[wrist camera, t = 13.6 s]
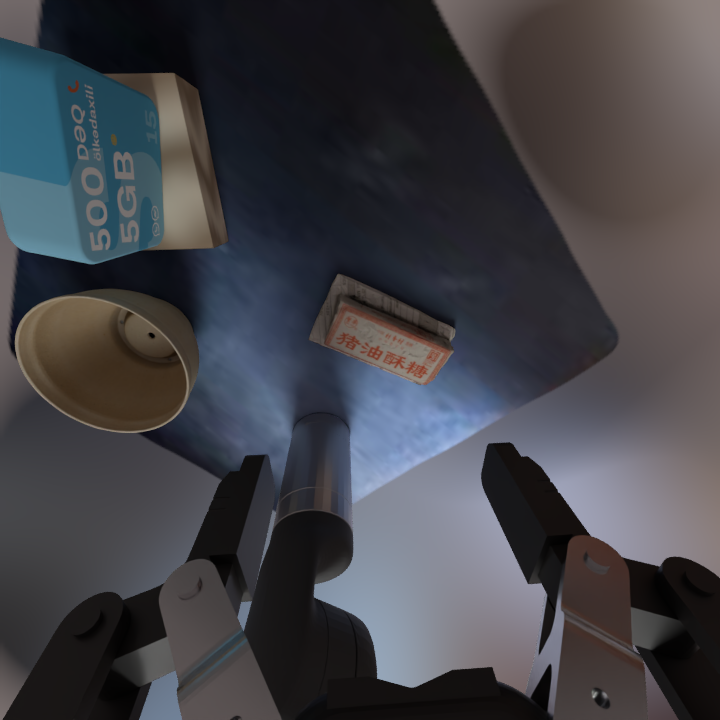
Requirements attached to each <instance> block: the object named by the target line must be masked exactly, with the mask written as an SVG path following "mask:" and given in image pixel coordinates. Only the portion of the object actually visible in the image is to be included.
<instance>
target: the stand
mask: <svg viewBox="0 0 720 720" xmlns="http://www.w3.org/2000/svg"><path fill="white" fill-rule="evenodd" d="M103 75H106V76H108V77H110V78H112V79H114V80H116V81H118V82H120V83H122V84H124V85H126V86H128V87H130V88H132V89H134V90H137V91H139V92H141V93H143V94H145V95H147V96H148V97H149V98H150V99H151V100H152V101H153V103H154V105H155V107H156V110H157V113H158V118H159V130H160V151H161V172H162V193H163V214H164V235H163V238H162V241H161V242H160V244H159V245H157V246H154V247H151V248H147V249H144V250H170V249H201V248H215V247H217V246H219V245H222V244H224V243H226V242H228V236H227V231H226V226H225V221H224V216H223V211H222V206H221V201H220V196H219V192H218V187H217V182H216V177H215V172H214V167H213V162H212V157H211V152H210V147H209V142H208V137H207V132H206V127H205V123H204V118H203V113H202V108H201V103H200V98H199V93H198V89H196V88H195V87H194V86H192V85H191V84H189V83H188V82H186V81H185V80H184V79H182V78H181V77H179V76H178V75H176V74H175V73H140V74H103Z"/></svg>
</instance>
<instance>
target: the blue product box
mask: <svg viewBox="0 0 720 720" xmlns="http://www.w3.org/2000/svg"><path fill="white" fill-rule="evenodd" d="M0 209H1V213H2V217H3V221H4V225H5V228H6V232H7V234H8V236H9V238H10V240H11V241H12V242H13V243H14V244H15V245H16V246H17V247H18V248H20V249H22V250H24V251H27V252H31V253H36V254H42V255H47V256H52V257H57V258H62V259H67V260H72V261H77V262H82V263H87V264H97V263H101V262H104V261H107V260H111V259H114V258H117V257H121V256H124V255H127V254H131V253H134V252H137V251H141V250H144V249H147V248H151V247H154V246H157V245H159V244H160V242H161V241H162V238H163V235H164V214H163V193H162V172H161V151H160V130H159V118H158V113H157V110H156V107H155V105H154V103H153V101H152V100H151V99H150V98H149V97H148V96H147V95H145V94H143V93H141V92H139V91H137V90H134V89H132V88H130V87H128V86H126V85H124V84H122V83H120V82H118V81H116V80H114V79H112V78H110V77H108V76H106V75H103V74H101V73H99V72H97V71H95V70H93V69H91V68H89V67H87V66H85V65H83V64H81V63H79V62H77V61H74V60H72V59H70V58H68V57H66V56H64V55H61V54H57V53H54V52H50V51H47V50H43V49H39V48H36V47H32V46H29V45H25V44H22V43H18V42H14V41H11V40H7V39H4V38H0Z"/></svg>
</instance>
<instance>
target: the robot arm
mask: <svg viewBox="0 0 720 720" xmlns="http://www.w3.org/2000/svg"><path fill="white" fill-rule="evenodd" d="M481 479H482V486H483V489H484V491H485V493H486V495H487V498H488V500H489V502H490V504H491V506H492V508H493V510H494V513H495V515H496V517H497V519H498V521H499V523H500V525H501V527H502V530H503V532H504V534H505V536H506V538H507V540H508V542H509V544H510V546H511V548H512V551H513V553H514V555H515V557H516V559H517V561H518V564H519V566H520V568H521V570H522V572H523V574H524V576H525V578H526V580H527V583H528V584H537V583H542V585H543V587H544V589H545V591H546V594H545V597H544V603H543V609H542V615H541V621H540V627H539V633H538V639H537V645H536V651H535V657H534V662H533V666H532V670H531V673H530V676H529V679H528V684H527V688H526V693H525V694H523V693H522V692H520V691H518V690H517V689H515V688H513V687H511V686H509V685H506V684H504V683H501V682H498V681H497V680H496V677H495V674H494V671H493V668H492V667H487V668H473V669H460V670H451V671H449V672H447V673H445V674H443V675H441V676H439V677H436V678H434V679H433V680H430V681H428V682H426V683H424V684H422V685H419V686H417V687H414V688H409V687H405V686H402V685H398V684H394V683H391V682H387V681H383V680H380V679H377V666H376V657H375V651H374V645H373V642H372V639H371V636H370V633H369V631H368V629H367V627H366V626H365V624H364V623H363V622H362V621H361V620H360V619H358V618H357V617H356V616H354V615H352V614H350V613H348V612H346V611H344V610H342V609H340V608H337V607H335V606H332V605H330V604H328V603H326V602H323V601H321V600H318V599H316V598H314V585H315V584H318V583H322V582H326V581H329V580H331V579H333V578H335V577H337V576H339V575H340V574H342V573H343V572H344V571H345V570H346V569H347V568H348V566H349V565H350V563H351V560H352V557H353V521H352V493H351V460H350V432H349V429H348V427H347V425H346V424H345V423H344V422H343V421H342V420H341V419H339V418H338V417H336V416H333V415H331V414H326V413H316V414H311V415H308V416H306V417H304V418H302V419H301V420H300V421H299V422H298V423H297V424H296V425H295V427H294V429H293V433H292V438H291V443H290V447H289V452H288V457H287V462H286V467H285V472H284V477H283V481H282V486H281V491H280V496H279V501H278V506H277V511H276V517H275V521H274V526H273V531H272V536H271V540H270V544H269V547H268V549H267V552H266V555H265V557H264V560H263V563H262V565H261V569H260V572H259V568H260V564H261V559H262V555H263V550H264V545H265V541H266V537H267V532H268V527H269V523H270V518H271V514H272V509H273V505H274V499H275V484H274V479H273V474H272V469H271V464H270V460H269V456H268V455H267V454H266V455H247V456H245V458H244V460H243V463H242V466H241V468H240V471H233V472H229V473H228V475H227V476H226V477H225V478H224V479H223V480H222V481H221V482H220V484H219V486H218V488H217V490H216V493H215V495H214V497H213V501H212V502H211V505H210V507H209V511H208V512H207V514H206V516H205V519H204V522H203V524H202V526H201V528H200V531H199V533H198V536H197V538H196V540H195V543H194V545H193V547H192V550H191V552H190V555H189V557H188V559H187V561H186V562H185V564H183V565H181V566H180V567H179V568H177V569H176V570H175V571H174V572H173V573H172V574H171V575H170V576H169V577H168V579H167V580H166V582H165V583H164V584H162V585H160V586H158V587H156V588H153V589H151V590H148V591H146V592H143V593H140V594H138V595H135V596H133V597H130V598H127V599H125V600H122V598H121V597H120V596H119V595H118V594H116V593H113V592H104V593H100V594H97V595H94V596H92V597H90V598H88V599H87V600H85V601H83V602H82V603H81V604H79V605H78V606H77V607H76V608H74V609H73V610H72V611H71V612H70V613H69V614H68V615H67V616H66V617H65V618H64V620H63V621H62V622H61V624H60V625H59V627H58V628H57V630H56V631H55V633H54V635H53V636H52V638H51V640H50V642H49V643H48V645H47V646H46V648H45V650H44V652H43V653H42V655H41V657H40V658H39V660H38V661H37V663H36V665H35V667H34V668H33V670H32V672H31V673H30V675H29V677H28V678H27V680H26V682H25V683H24V685H23V686H22V688H21V690H20V691H19V693H18V695H17V697H16V698H15V700H14V701H13V703H12V705H11V707H10V708H9V710H8V711H7V713H6V715H5V717H4V718H3V720H139V718H140V715H141V712H142V709H143V706H144V703H145V701H146V697H147V695H148V692H149V689H150V686H151V683H152V681H154V680H156V679H158V678H160V677H162V676H164V675H167V674H169V673H171V672H173V671H175V670H176V673H177V678H178V683H179V687H178V688H177V697H178V703H179V707H180V712H181V716H182V720H648V710H647V695H646V681H645V668H644V663H643V660H644V662H645V663H646V665H647V667H648V668H649V670H650V672H651V674H652V675H653V677H654V679H655V680H656V682H657V684H658V685H659V687H660V689H661V690H662V692H663V694H664V696H665V697H666V699H667V700H668V702H669V704H670V706H671V707H672V709H673V711H674V712H675V714H676V716H677V717H678V719H679V720H720V578H719V577H718V576H717V575H715V574H714V573H713V572H711V571H710V570H708V569H707V568H705V567H704V566H702V565H700V564H698V563H696V562H693V561H692V560H689V559H686V558H681V557H669V558H667V559H666V560H664V562H663V563H662V564H661V566H660V567H659V566H655V565H651V564H647V563H642V562H638V561H634V560H630V559H626V558H623V557H621V556H620V555H619V554H618V552H617V551H616V550H614V549H613V548H612V547H611V546H609V545H608V544H606V543H605V542H603V541H601V540H599V539H597V538H594V537H591V536H590V534H589V533H588V532H587V530H586V529H585V528H584V526H583V525H582V524H581V522H580V521H579V519H578V518H577V517H576V515H575V514H574V512H573V511H572V509H571V508H570V507H569V505H568V504H567V503H566V501H565V500H564V498H563V497H562V496H561V494H560V493H558V490H557V489H556V487H555V486H554V484H553V483H552V482H550V479H549V477H548V476H547V475H546V473H545V472H544V470H543V469H542V468H541V467H540V466H539V465H538V464H537V463H535V462H534V461H533V460H532V459H530V458H529V457H527V456H526V457H521V456H520V454H519V453H518V451H517V450H516V448H515V447H514V445H513V444H512V443H510V442H509V443H491V444H488V446H487V449H486V454H485V459H484V463H483V468H482V473H481ZM258 573H259V576H258ZM257 578H258V580H257ZM256 582H257V584H256ZM255 587H256V588H255ZM254 591H255V592H254ZM245 601H246V602H247V601H252V604H251V607H250V611H249V615H248V618H247V622H246V625H245V629H244V632H243V630H242V627H241V625H240V623H239V620H238V618H237V616H238V613H239V608H240V604H241V602H245ZM632 644H633V645H635V647H636V648H637V650H638V652H639V653H640V654H638V653H636V652H635V651H634V650H633V645H632ZM640 655H641V656H640ZM642 658H643V659H642Z"/></svg>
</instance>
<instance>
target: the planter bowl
mask: <svg viewBox="0 0 720 720" xmlns="http://www.w3.org/2000/svg"><path fill="white" fill-rule="evenodd" d="M149 333H153V334H154V335H155V337H154V338H151V337H150V336H149ZM15 349H16V355H17V359H18V362H19V365H20V367H21V369H22V371H23V373H24V375H25V376H26V378H27V380H28V381H29V382H30V384H31V385H32V386H33V388H34V389H35V390H36V391H37V392H38V393H39V394H40V395H41V396H42V397H43V398H44V399H45V400H46V401H48V402H49V403H50V404H51V405H53V406H54V407H55V408H57V409H58V410H59V411H61V412H62V413H64V414H66V415H67V416H69V417H71V418H73V419H75V420H77V421H79V422H81V423H84V424H86V425H89V426H91V427H95V428H98V429H102V430H107V431H112V432H122V433H136V432H144V431H149V430H152V429H156V428H158V427H161V426H163V425H165V424H166V423H168V422H169V421H171V420H172V419H173V418H175V417H176V416H177V415H178V414H179V412H180V411H181V410H182V408H183V407H184V405H185V404H186V402H187V399H188V397H189V394H190V392H191V390H192V388H193V386H194V383H195V380H196V377H197V373H198V368H199V350H198V345H197V341H196V338H195V335H194V332H193V329H192V326H191V324H190V322H189V320H188V319H187V318H186V316H185V315H184V314H183V313H182V312H181V311H180V310H179V309H178V308H176V307H175V306H173V305H172V304H170V303H168V302H166V301H164V300H161V299H158V298H154V297H152V296H149V295H146V294H143V293H139V292H134V291H129V290H121V289H98V290H90V291H84V292H80V293H76V294H70V295H64V296H59V297H55V298H52V299H49V300H47V301H44V302H42V303H40V304H38V305H37V306H35V307H34V308H32V309H31V310H30V311H29V312H28V313H27V314H26V315H25V316H24V317H23V319H22V320H21V321H20V324H19V326H18V328H17V332H16V337H15Z"/></svg>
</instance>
